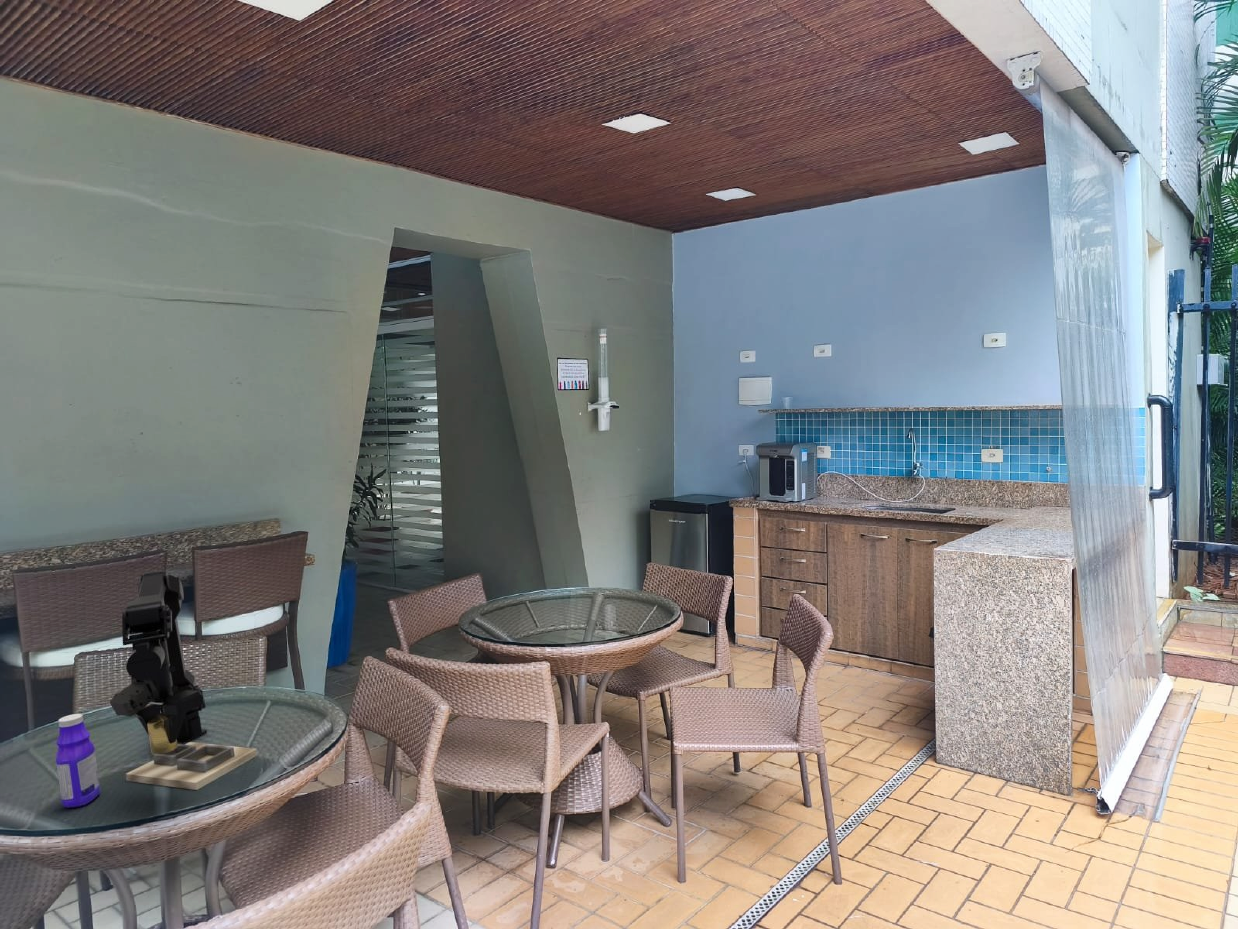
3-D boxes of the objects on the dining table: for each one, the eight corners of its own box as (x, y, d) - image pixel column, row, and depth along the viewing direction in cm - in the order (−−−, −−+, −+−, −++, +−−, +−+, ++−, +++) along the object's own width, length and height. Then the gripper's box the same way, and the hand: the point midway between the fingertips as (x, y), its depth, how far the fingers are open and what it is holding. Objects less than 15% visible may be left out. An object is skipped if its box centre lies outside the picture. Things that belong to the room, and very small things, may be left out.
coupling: (145, 753, 164) (141, 724, 164) (166, 743, 168) (162, 714, 168) (162, 755, 162) (158, 725, 162) (182, 745, 167) (178, 716, 166)
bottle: (77, 794, 171) (65, 712, 169) (106, 791, 171) (94, 709, 170) (56, 811, 164) (43, 726, 162) (87, 808, 164) (74, 722, 163)
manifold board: (126, 780, 175) (124, 764, 175) (190, 748, 190) (188, 733, 190) (196, 790, 168) (194, 773, 168) (257, 755, 183) (255, 740, 182)
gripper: (80, 677, 160) (92, 755, 161) (150, 682, 153) (162, 764, 154) (133, 658, 170) (143, 731, 172) (201, 662, 163) (211, 739, 165)
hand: (163, 741), depth 165 cm, fingers closed on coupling, 5 cm apart
